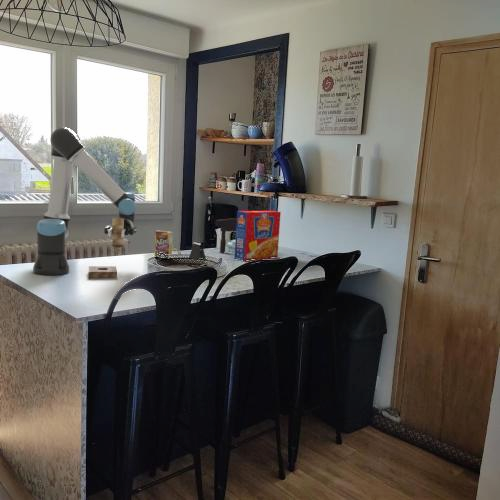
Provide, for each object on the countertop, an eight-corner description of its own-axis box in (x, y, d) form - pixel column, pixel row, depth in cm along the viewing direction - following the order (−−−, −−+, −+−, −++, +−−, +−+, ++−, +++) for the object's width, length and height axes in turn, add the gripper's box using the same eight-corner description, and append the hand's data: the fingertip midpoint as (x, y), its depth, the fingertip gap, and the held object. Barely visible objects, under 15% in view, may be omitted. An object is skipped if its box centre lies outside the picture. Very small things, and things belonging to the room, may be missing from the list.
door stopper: (193, 267, 251) (195, 244, 249) (186, 265, 255) (187, 242, 254) (207, 265, 258) (208, 243, 256) (199, 263, 262) (201, 241, 260)
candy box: (154, 258, 270) (154, 230, 268) (157, 256, 274) (158, 230, 272) (168, 259, 267) (169, 232, 265) (172, 258, 271) (173, 231, 269)
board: (88, 278, 213) (88, 271, 212) (88, 272, 224) (88, 266, 223) (117, 278, 216) (117, 271, 216) (115, 272, 228) (115, 266, 227)
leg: (111, 253, 210) (112, 219, 208) (111, 251, 215) (112, 217, 212) (123, 253, 211) (124, 219, 209) (122, 251, 216) (123, 218, 214)
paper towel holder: (207, 217, 302) (247, 216, 324) (206, 251, 305) (245, 248, 327) (223, 220, 290) (263, 219, 312) (222, 255, 293) (261, 251, 316)
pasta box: (243, 261, 276) (246, 212, 272) (234, 259, 282) (237, 211, 277) (277, 258, 296) (280, 212, 291) (267, 255, 301) (270, 210, 297)
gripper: (142, 236, 231) (137, 243, 208) (104, 234, 229) (94, 241, 206) (143, 220, 230) (137, 226, 207) (104, 218, 228) (94, 223, 205)
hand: (115, 233), depth 206 cm, fingers closed on leg, 5 cm apart
